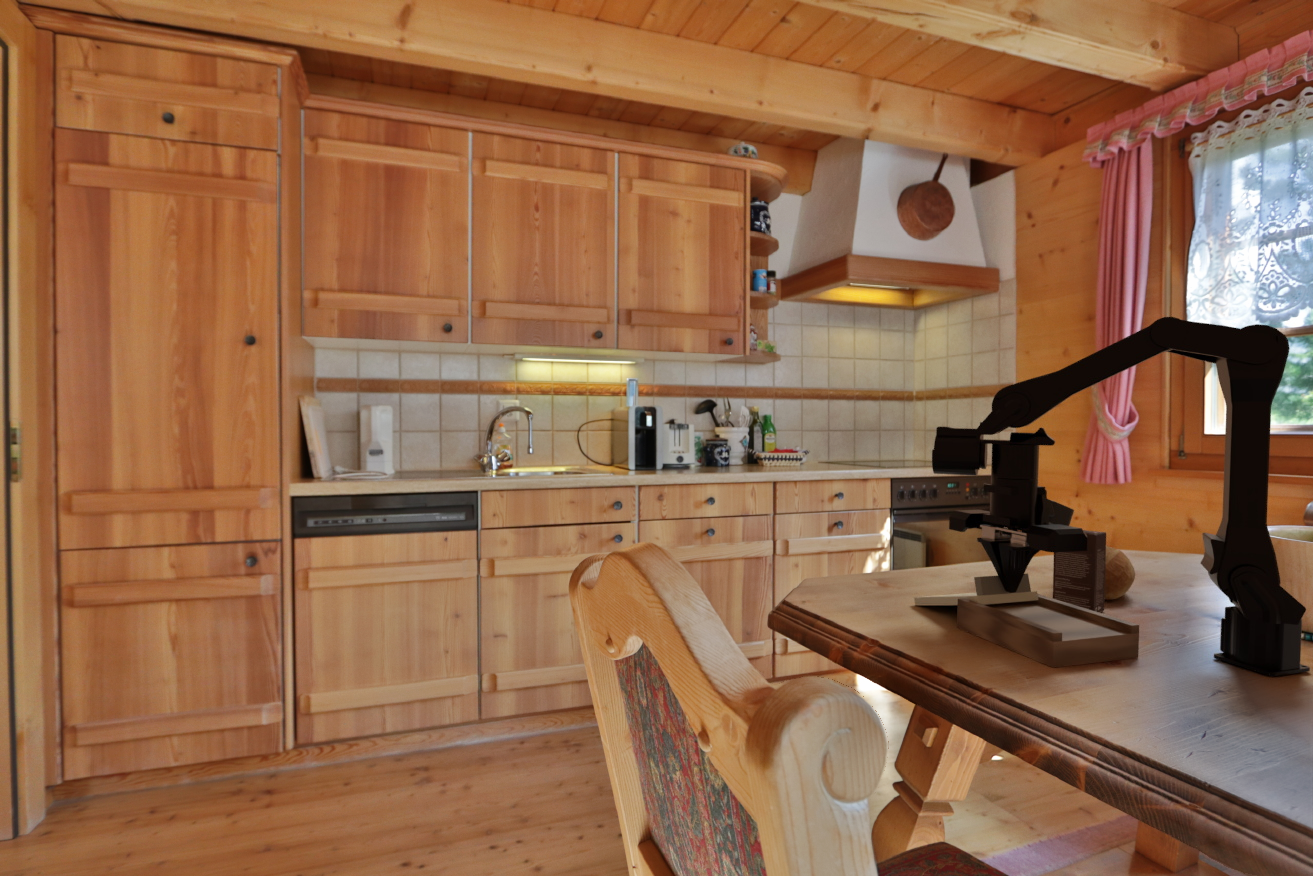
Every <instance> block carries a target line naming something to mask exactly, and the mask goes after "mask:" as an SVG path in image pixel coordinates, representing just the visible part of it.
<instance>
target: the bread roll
mask: <svg viewBox="0 0 1313 876" xmlns="http://www.w3.org/2000/svg"><path fill="white" fill-rule="evenodd" d="M1135 579H1136V572H1135V566H1134V565H1133V563H1132V562H1131V560H1130V558H1129V557H1128V556H1127V555H1126V554H1125V553H1124V552H1123V551H1122V550H1121V549H1117V548H1115V547H1111V546H1108V545H1106V566H1105V600H1117V599H1119V598H1120V597H1122V596H1125V595H1126V593H1127V592H1129V590H1130V588H1132V585H1133V583H1134V581H1135Z"/></svg>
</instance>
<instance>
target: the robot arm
mask: <svg viewBox="0 0 1313 876" xmlns="http://www.w3.org/2000/svg"><path fill="white" fill-rule="evenodd" d="M1290 349H1291V348H1290V343H1289V339H1288V337H1287V336H1286V334H1284V333H1283V332H1281V331H1280V330H1279V329H1278V328H1276V327H1273V326H1270V325H1269V324H1268V325H1267V324H1251V325H1246V326H1244V327H1241V328H1237V327H1233V326H1227V325H1222V324H1221V325H1220V324H1213V323H1205V322H1198V321H1189V320H1184V319H1180V318H1178V317H1174V316H1164V317H1161V318H1157V319H1156V320H1154V322H1152V323H1151V324H1149V326H1147V327H1144V328H1142V329H1140V330H1138V331H1136V332H1133V333H1132V334H1130V335H1128V336H1126V337H1124V338H1122V339H1120V340H1118V341H1116V342H1114V343H1112V344H1110V345H1108V346H1106V347H1104V348H1102V349H1100V350H1097V351H1096V352H1093V353H1092V354H1089V355H1088V356H1085V357H1083V358H1082V359H1078V360H1077V361H1075V362H1073V363H1071V364H1068V365H1067V366H1064V367H1063V368H1061V369H1059V370H1056V371H1052V372H1050V373H1047V374H1042V375H1038V376H1036V377H1032V378H1030V379H1029V378H1028V379H1025V380H1023V381H1020V382H1016V383H1012V384H1009V385H1007V386H1005V387H1003V388H1001V389H1000V390H998V391H997V392H996V394H995V395H994V396H993V399H992V402H991V412H990V413H989V414H988V415H987V416H986V417H985V419H984V420H983V421H980V422H979V426H978V427H977V428H969V427H968V428H963V427H962V428H961V427H960V428H957V427H952V426H951V427H950V426H937V427H936V429H935V430H936V432H935V433H936V434H935V438H934V445H933V449H932V450H931V465H932V472H933V474H934V475H951V476H952V475H953V476H972V477H973V476H974V477H978V474H979V470H980V469H982V470H986V469H987V466H988V445H991V469H990V471H991V473H990V483H984V484H983V492H986V493H990V499H989V500H990V501H989V502H990V503H989V510H985V509H964V510H963V509H962V510H961V509H959V510H958V509H957V510H956V509H955V510H953V512H952V513H951V514H950V516H949V517H948V518H949V519H948V522H949V523H948V524H949V525H948V529H949V530H951V531H956V532H960V533H965V532H966V531H967V530H969V529H978V530H981V537H977V538H976V541H977V542H978V543H980V544H981V545H982V547H983V549H984V550H985V553H986V555H987V557H988V558H989V560H990V562H991V564H992V566H993V567H994V569H995V572H996V574H997V576H999V578H1000V580H1001V583H1002V585H1003V587H1004V589H1005V591H1006V592H1009V593H1015V592H1016V591H1017V589H1018V587H1019V584H1020V582H1021V580H1022V578H1023V575H1024V574H1026V570H1027V568H1028V566H1029V565H1030V563H1031V561H1032V559H1033V557H1034V556H1036V555H1037V554H1038V553H1039V552H1041V551H1042V552H1047V553H1053V554H1054V553H1056V552H1074V551H1087V535H1086V533H1085V532H1084V531H1083V530H1084V529H1083V528H1081V527H1076V526H1071V525H1070V524H1071V521H1072V519H1073V516H1074V512H1075V510H1074V509H1073V508H1071V507H1070V506H1066V505H1065V504H1062V503H1060V502H1057V501H1055V500H1051V499H1049V498H1047V497H1048V495H1047V492H1048V491H1047V489H1046V486H1043V485H1042V486H1040V485H1039V465H1040V464H1039V462H1040V460H1039V459H1040V446H1046V447H1047V446H1049V447H1051V446H1055V444H1056V440H1055V439H1054V438H1053V437H1051V436H1050V435H1049V433H1047V432H1046V430H1045V427H1039V428H1038V429H1037V430H1036V431H1035V432H1018V431H1017V432H1010V436H1009V439H989V438H988V439H984V437H985V435H986V436H987V435H989V436H991V435H998V434H999V433H1001V432H1002V431H1004V430H1005V431H1006V429H1009V428H1011V429H1019V428H1020V429H1021V428H1023V427H1028V426H1029V425H1031V424H1033V423H1034V422H1036V421H1038V419H1040V418H1042V417H1043V416H1044V415H1046V414H1048V413H1049V412H1050V411H1052V410H1053V409H1054V408H1057V407H1058V406H1059V405H1060V404H1062V403H1063V402H1065V401H1066V400H1068V399H1069V398H1070V397H1072V396H1074V395H1076V394H1077V393H1080V392H1083V391H1084V390H1086V389H1088V388H1091V387H1093V386H1095V385H1098V384H1099V383H1101V382H1103V381H1105V380H1108V379H1110V378H1112V377H1115V376H1116V375H1118V374H1120V373H1122V372H1125V371H1126V370H1128V369H1131V368H1133V367H1135V366H1138V365H1139V364H1141V363H1143V362H1145V361H1148V360H1150V359H1152V358H1154V357H1156V356H1158V355H1160V354H1163V353H1164V354H1165V353H1170V354H1175V355H1178V356H1181V357H1186V358H1189V359H1194V360H1198V361H1201V362H1207V363H1211V364H1215V367H1216V372H1217V377H1218V381H1219V386H1220V388H1221V391H1222V395H1223V398H1224V402H1225V407H1226V409H1225V411H1226V412H1225V438H1224V439H1225V440H1224V461H1223V462H1224V463H1223V464H1224V465H1223V466H1224V468H1223V487H1222V491H1223V495H1222V516H1221V517H1222V518H1221V521H1220V524H1219V527H1218V528H1217V530H1216V533H1215V534H1213V533H1209V532H1202V534H1201V535H1202V541H1203V546H1204V547H1203V548H1204V553H1203V557H1202V559H1201V561H1200V565H1201V566H1202V567H1203V568H1204V569H1205V570H1206V571H1207V573H1208V576H1209V579H1210V580H1211V581H1212V582H1213V583H1214V585H1215V586H1216V587H1217V588H1218V589H1219V590H1220V591H1221V592H1222V593H1223V594H1224V595H1225V596H1226V597H1227V598H1228V599H1229V602H1230V603H1231V604H1233V606H1232V605H1231V606H1225V608H1224V617H1222V618H1221V619H1220V640H1219V650H1220V652H1217V653H1213V658H1214V659H1216V660H1219V661H1222V662H1225V663H1228V664H1232V665H1234V666H1238V667H1241V668H1243V669H1247V670H1251V671H1254V672H1257V673H1260V674H1263V675H1265V676H1270V677H1278V676H1285V675H1291V674H1300V673H1308V672H1310V670H1311V667H1310V666H1308V665H1306V664H1302V663H1301V655H1302V652H1301V651H1302V634H1303V633H1302V631H1303V630H1302V628H1303V617H1304V615H1305V613H1306V611H1307V608H1306V607H1305V606H1304V605H1303V604H1302V603H1300V601H1298V599H1296V598H1295V597H1294V596H1293V595H1291V594H1290V592H1288V591H1287V590H1286V589H1285V588H1283V586H1282V585H1281V577H1280V571H1279V565H1278V560H1277V554H1276V550H1275V548H1274V544H1273V542H1272V538H1271V535H1270V532H1269V529H1268V499H1269V475H1270V471H1269V470H1270V449H1271V448H1270V446H1271V445H1270V444H1271V422H1272V421H1271V418H1272V405H1273V401H1274V398H1275V396H1276V394H1277V391H1278V389H1279V386H1280V384H1281V382H1282V379H1283V376H1284V372H1285V369H1286V365H1287V362H1288V361H1287V360H1288V357H1289V353H1290Z"/></svg>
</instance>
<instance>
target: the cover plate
mask: <svg viewBox="0 0 1313 876" xmlns="http://www.w3.org/2000/svg"><path fill="white" fill-rule="evenodd" d="M973 581H974V585H975V586H974V587H975V592H967V593H966V592H965V593H953V594H941V595H928V596H927V595H926V596H914V597H913V598H914V599H913V600H914V605H915V606H958V599H960V598H966V599H969V600H972V601H974V602H977V603H980V604H983V605H986V604H998V603H1010V602H1022V601H1034V600H1038V594H1039V593H1038V591H1032V588H1031V583H1030V578H1029V573H1024V575H1023V578H1022V580H1021V582H1020V584H1019V587H1018V589H1017V591H1016V592H1015V593H1009V592H1006V591H1005V589H1004V587H1003V585H1002V583H1001V580H1000V578H999V576H998V575H987V576H985V575H984V576H973Z"/></svg>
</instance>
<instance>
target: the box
mask: <svg viewBox="0 0 1313 876" xmlns="http://www.w3.org/2000/svg"><path fill="white" fill-rule="evenodd" d="M1083 531H1084V532H1085V533H1086V535H1087V551H1074V552H1056V553H1054V552H1053V571H1052V572H1053V573H1052V574H1053V575H1052V576H1053V577H1052V598H1053V599H1056V600H1059V601H1063V602H1066V603H1069V604H1073V605H1076V606H1079V607H1082V608H1086V609H1089V610H1092V611H1096V612H1099V613H1102V612H1104V611H1105V601H1106V599H1105V566H1106V546H1107V532H1106V531H1105V532H1104V531H1095V530H1085V529H1083Z"/></svg>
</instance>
